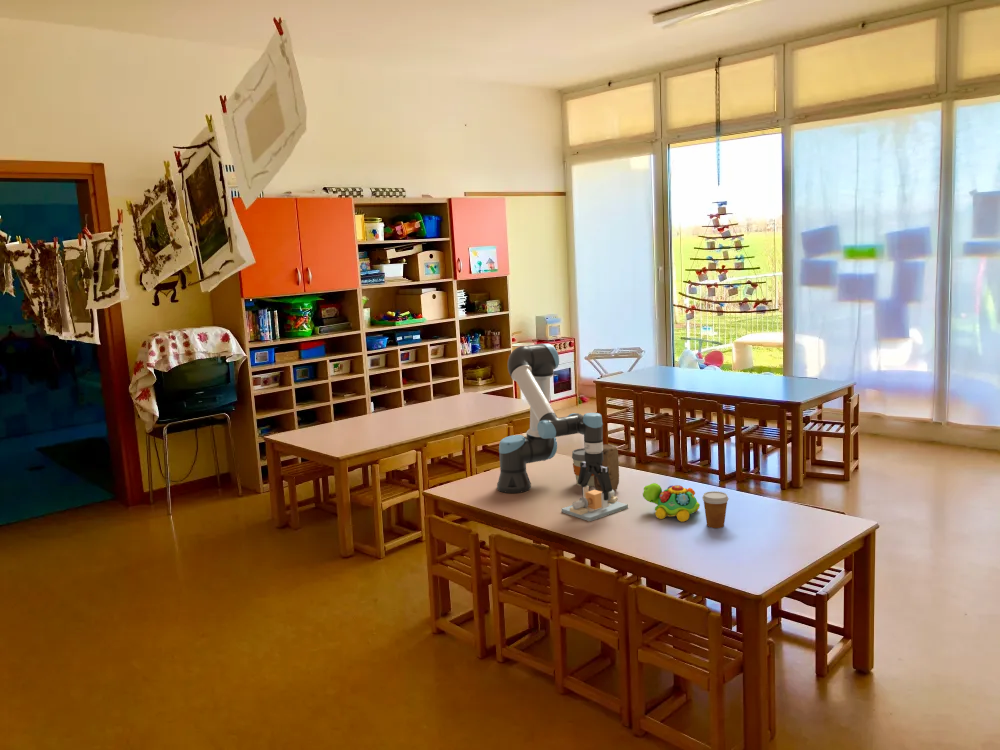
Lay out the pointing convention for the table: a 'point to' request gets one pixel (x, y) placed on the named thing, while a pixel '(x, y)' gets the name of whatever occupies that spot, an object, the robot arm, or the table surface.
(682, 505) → the turtle toy
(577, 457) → the reusable coffee cup
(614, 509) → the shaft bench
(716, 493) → the disposable coffee cup
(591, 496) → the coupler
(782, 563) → the table surface
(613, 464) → the block
